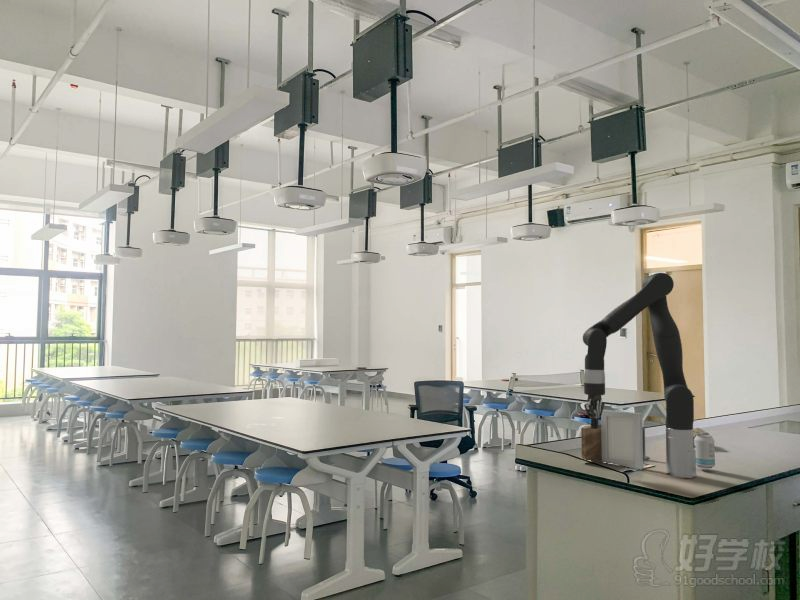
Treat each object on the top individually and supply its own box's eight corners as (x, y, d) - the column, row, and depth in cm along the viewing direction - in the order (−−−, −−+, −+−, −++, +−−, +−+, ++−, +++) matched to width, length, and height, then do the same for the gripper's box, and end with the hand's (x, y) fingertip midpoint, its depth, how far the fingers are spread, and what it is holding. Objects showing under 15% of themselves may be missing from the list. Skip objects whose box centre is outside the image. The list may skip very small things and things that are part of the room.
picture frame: (601, 463, 237) (600, 410, 239) (605, 462, 239) (604, 409, 241) (640, 469, 226) (639, 413, 227) (644, 468, 228) (643, 413, 229)
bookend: (649, 458, 248) (648, 426, 249) (644, 460, 244) (643, 427, 245) (620, 454, 256) (619, 423, 257) (615, 456, 252) (614, 424, 253)
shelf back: (614, 454, 255) (614, 421, 256) (585, 464, 234) (584, 428, 235) (611, 454, 256) (610, 420, 257) (581, 464, 235) (581, 427, 236)
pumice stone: (683, 443, 285) (683, 425, 286) (711, 445, 280) (711, 427, 281) (683, 447, 273) (682, 429, 273) (712, 449, 268) (712, 431, 268)
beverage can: (697, 464, 236) (696, 433, 237) (716, 466, 231) (716, 435, 232) (692, 467, 231) (692, 435, 231) (712, 469, 226) (711, 437, 227)
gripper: (596, 383, 219) (596, 431, 218) (611, 381, 228) (611, 427, 227) (577, 382, 224) (577, 429, 223) (592, 380, 233) (592, 425, 232)
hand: (594, 428), depth 225 cm, fingers closed
